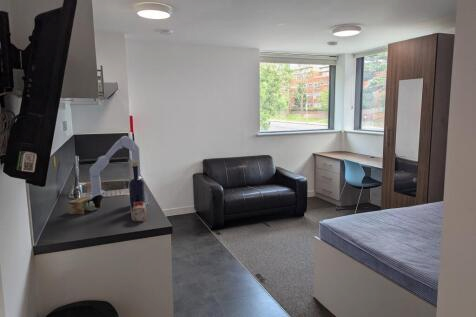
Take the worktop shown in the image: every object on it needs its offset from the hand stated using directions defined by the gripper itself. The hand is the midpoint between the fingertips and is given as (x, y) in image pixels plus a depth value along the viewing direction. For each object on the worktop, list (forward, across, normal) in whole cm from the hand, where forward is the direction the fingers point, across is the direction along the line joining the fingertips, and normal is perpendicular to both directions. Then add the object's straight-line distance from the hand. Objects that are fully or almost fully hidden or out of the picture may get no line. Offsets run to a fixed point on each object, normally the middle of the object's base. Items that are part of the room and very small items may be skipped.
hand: (97, 207), depth 207 cm
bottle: (+1, +3, +27) cm, 28 cm away
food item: (+1, +14, +34) cm, 37 cm away
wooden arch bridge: (+1, 0, -8) cm, 8 cm away
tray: (+1, 0, -6) cm, 6 cm away
